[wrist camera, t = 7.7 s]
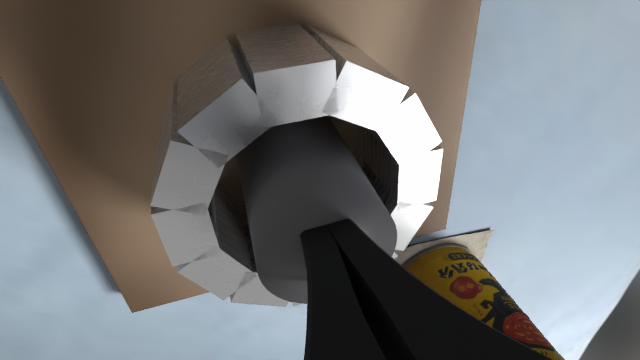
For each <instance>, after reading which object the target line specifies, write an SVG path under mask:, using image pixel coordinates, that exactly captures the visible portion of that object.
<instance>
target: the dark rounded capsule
mask: <svg viewBox="0 0 640 360" xmlns="http://www.w3.org/2000/svg"><path fill="white" fill-rule="evenodd" d="M236 156H237V162H238V168H239V173H240V179H241V184H242V190H243V196H244V201H245V207H246V213H247V218H248V224H249V229H250V235H251V241H252V246H253V252H254V258H255V263H256V269H257V273H258V277H259V279H260V281H261V283H262V284H263V286H264V287H265V288H266V289H267V290H268V291H269V292H270V293H272V294H273V295H275V296H276V297H278V298H281V299H283V300H286V301H290V302H295V303H304V304H308V291H307V269H306V264H305V259H304V254H303V249H302V244H301V239H300V234H301V233H302V232H303V231H304V230H308V229H312V228H315V227H319V226H323V225H326V224H330V223H334V222H337V221H341V220H344V219H348V218H349V219H351V220H352V221H353V222H354V223H355V224H356V225H357V226H358V227H359V228H360V229H361V230H362V231H363V232H364V233H365V234H366V235H368V236H369V237H370V238H371V239H372V240H373V241H374V242H375V243H376V244H377V245H378V246H379V247H381V248H382V249H383V250H384V251H385V252H386V253H387V254H389V255H390V256H391V257H392V255H393V253H394V250H395V247H396V243H397V229H396V225H395V222H394V220H393V218H392V217H391V215H390V214H389V212H388V210H387V209H386V207H385V206H384V204H383V202H382V201H381V199H380V198H379V196H378V194H377V193H376V191H375V190H374V188H373V186H372V185H371V183H370V182H369V180H368V178H367V177H366V175H365V174H364V172H363V170H362V169H361V167H360V166H359V164H358V162H357V161H356V159H355V158H354V156H353V154H352V153H351V151H350V150H349V148H348V146H347V145H346V143H345V142H344V140H343V138H342V137H341V135H340V134H339V132H338V130H337V129H336V127H335V126H334V124H333V122H332V121H331V119H330V118H329V116H323V117H318V118H313V119H307V120H302V121H297V122H292V123H287V124H282V125H277V126H272V127H270V128H269V129H268V130H267V131H265V132H264V133H263V134H262V135H260V136H259V137H258V138H256V139H255V140H254V141H253V142H251V143H250V144H249V145H248V146H246V147H245V148H244V149H242V150H241V151H240V152H239V153H237V154H236ZM326 226H327V225H326Z"/></svg>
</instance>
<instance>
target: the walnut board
mask: <svg viewBox="0 0 640 360" xmlns="http://www.w3.org/2000/svg"><path fill="white" fill-rule="evenodd" d="M480 5H481V0H0V77H1V79H2V80H3V82H4V84H5V86H6V88H7V89H8V91H9V93H10V95H11V97H12V98H13V100H14V102H15V104H16V105H17V107H18V109H19V111H20V113H21V114H22V116H23V118H24V120H25V122H26V123H27V125H28V127H29V129H30V131H31V132H32V134H33V136H34V138H35V140H36V141H37V143H38V145H39V147H40V148H41V150H42V152H43V154H44V156H45V157H46V159H47V161H48V163H49V165H50V166H51V168H52V170H53V172H54V174H55V175H56V177H57V179H58V181H59V183H60V184H61V186H62V188H63V190H64V191H65V193H66V195H67V197H68V199H69V200H70V202H71V204H72V206H73V208H74V209H75V211H76V213H77V215H78V217H79V218H80V220H81V222H82V224H83V226H84V227H85V229H86V231H87V233H88V234H89V236H90V238H91V240H92V242H93V243H94V245H95V247H96V249H97V251H98V252H99V254H100V256H101V258H102V260H103V261H104V263H105V265H106V267H107V269H108V270H109V272H110V274H111V276H112V277H113V279H114V281H115V283H116V285H117V286H118V288H119V290H120V292H121V294H122V295H123V297H124V299H125V301H126V303H127V304H128V306H129V308H130V310H131V312H132V313H133V312H137V311H141V310H144V309H148V308H152V307H156V306H159V305H163V304H167V303H171V302H174V301H178V300H182V299H186V298H189V297H193V296H197V295H200V294H204V293H208V292H209V291H208V290H206V289H204V288H203V287H201V286H199V285H198V284H196V283H194V282H193V281H191V280H189V279H188V278H186V277H184V276H183V275H181V274H179V273H178V265H177V266H173V267H172V265H171V262H170V260H169V257H168V255H167V253H166V250H165V248H164V245H163V243H162V241H161V238H160V236H159V233H158V231H157V229H156V226H155V224H154V221H153V219H152V217H151V206H150V204H151V194H152V184H153V174H154V164H155V154H156V144H157V137H158V134H159V130H160V127H161V123H162V120H163V117H164V113H165V110H166V106H167V103H168V100H169V96H170V93H171V89H172V86H173V85H176V86H178V77H179V76H180V75H181V74H182V73H183V72H185V71H186V70H187V69H188V68H189V67H191V66H192V65H193V64H194V63H195V62H196V61H198V60H199V59H200V58H201V57H202V56H204V55H205V54H206V53H207V52H208V51H210V50H211V49H212V48H213V47H214V46H216V45H217V44H218V43H219V42H220V41H222V40H223V39H224V38H225V37H226V36H227V37H228V39H229V40H230V41H231V42H232V43H233V45H234V46H235V47H236V48H237V49H238V45H237V40H236V34H235V32H242V31H249V30H256V29H263V28H270V27H276V26H283V25H290V24H297V23H298V24H299V25H300V26H301V27H302V28H303V29H305V28H306V25H309V26H311V27H313V28H316V29H318V30H320V31H322V32H325V33H327V34H329V35H331V36H333V37H336V38H338V39H340V40H342V41H344V42H347V43H349V44H351V45H353V46H356V47H358V48H359V49H360V50H362V51H363V52H364V53H366V54H367V55H368V56H369V57H371V58H372V59H373V60H375V61H376V62H377V63H378V64H380V65H381V66H382V67H384V68H385V69H386V70H387V71H389V72H390V73H391V74H393V75H394V76H395V77H396V78H398V79H399V80H400V81H402V82H403V83H404V84H405V85H407V86H408V87H409V89H411V90H412V91H413V92H415V93H416V95H417V97H418V99H419V101H420V102H421V104H422V106H423V108H424V110H425V112H426V113H427V115H428V117H429V119H430V121H431V123H432V124H433V126H434V128H435V130H436V132H437V134H438V135H439V137H440V139H441V141H442V142H440V143H439V144H438V145H439V146H440V147H441V148H442V149H443V153H442V160H441V168H440V176H439V183H438V191H437V199H436V200H435V201H431V202H430V204H431V205H432V206H433V209H432V210H431V212H430V213H429V214H428V216H427V217H426V219H425V220H424V222H423V223H422V225H421V226H420V228H419V229H418V231H417V232H416V233H415V235H414V236H413V237H417V236H421V235H424V234H428V233H432V232H436V231H439V230H443V229H446V224H447V217H448V211H449V204H450V198H451V191H452V185H453V179H454V172H455V166H456V159H457V153H458V147H459V140H460V134H461V127H462V121H463V114H464V108H465V102H466V95H467V89H468V82H469V76H470V70H471V63H472V57H473V50H474V44H475V38H476V31H477V25H478V18H479V12H480ZM238 51H239V50H238ZM328 116H329V118H330V119H331V121H332V122H333V124H334V126H335V127H336V129H337V130H338V132H339V134H340V135H341V137H342V138H343V140H344V142H345V143H346V145H347V146H348V148H349V150H350V151H351V153H352V154H353V153H354V151H355V149H356V130H355V124H354V123H351V122H348V121H345V120H342V119H339V118H336V117H333V116H330V115H328ZM218 185H219V186H220V187H221V188H223V189H224V190H225V191H226V192H227V193H228V194H230V195H231V196H232V197H233V198H234V199H236V200H237V201H238V202H240V203H245V201H244V196H243V190H242V184H241V179H240V173H239V168H238V162H237V156H236V155H235V156H233V157H232V158H231V159H230V160H228V161H227V162H226V163H225V165H224V168H223V171H222V173H221V176H220V178H219V181H218Z"/></svg>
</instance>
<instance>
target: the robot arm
mask: <svg viewBox="0 0 640 360" xmlns="http://www.w3.org/2000/svg"><path fill="white" fill-rule="evenodd" d="M326 225H327V226H326ZM326 225H323V226H319V227H315V228H312V229H308V230H304V231H303V232H302V233H301V234H300V239H301V244H302V249H303V254H304V259H305V264H306V269H307V291H308V305H307V330H306V344H305V354H304V360H553V359H551V358H549V357H547V356H545V355H543V354H541V353H539V352H537V351H535V350H533V349H531V348H529V347H527V346H526V345H524V344H522V343H520V342H518V341H516V340H514V339H512V338H510V337H509V336H507V335H505V334H503V333H501V332H499V331H497V330H496V329H494V328H492V327H490V326H489V325H487V324H485V323H484V322H482V321H480V320H479V319H477V318H475V317H474V316H472V315H470V314H469V313H467V312H466V311H464V310H463V309H461V308H459V307H458V306H456V305H455V304H453V303H452V302H450V301H449V300H447V299H446V298H444V297H443V296H442V295H440V294H439V293H437V292H436V291H434V290H433V289H432V288H430V287H429V286H428V285H426V284H425V283H424V282H422V281H421V280H419V279H418V278H417V277H416V276H414V275H413V274H412V273H410V272H409V271H408V270H407V269H405V268H404V267H403V266H402V265H401V264H399V263H398V262H397V261H396V260H395V259H393V258H392V257H391V256H390V255H389V254H387V253H386V252H385V251H384V250H383V249H382V248H381V247H379V246H378V245H377V244H376V243H375V242H374V241H373V240H372V239H371V238H370V237H369V236H368V235H366V234H365V233H364V232H363V231H362V230H361V229H360V228H359V227H358V226H357V225H356V224H355V223H354V222H353V221H352V220H351V219H349V218H348V219H344V220H341V221H337V222H334V223H330V224H326Z"/></svg>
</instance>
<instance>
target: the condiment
mask: <svg viewBox="0 0 640 360" xmlns="http://www.w3.org/2000/svg"><path fill="white" fill-rule="evenodd" d="M493 231H494V230H487V231H483V232H479V233H472V234H465V235H459V236H455V237H449V238H443V239H439V240H435V241H430V242H425V243H421V244H416V245H414V246H409V247H408V248H405V250H404V251H401V250H394V251H395V252H396V254H397V255H398V257H396V258H395V260H396V261H397V262H398V263H399V264H401V265H402V266H403V267H404V268H405V269H407V270H408V271H409V272H410V273H412V274H413V275H414V276H416V277H417V278H418V279H419V280H421V281H422V282H424V283H425V284H426V285H428V286H429V287H430V288H432V289H433V290H434V291H436V292H437V293H439V294H440V295H442V296H443V297H444V298H446V299H447V300H449V301H450V302H452V303H453V304H455V305H456V306H458V307H459V308H461V309H463V310H464V311H466V312H467V313H469V314H470V315H472V316H474V317H475V318H477V319H479V320H480V321H482V322H484V323H485V324H487V325H489V326H490V327H492V328H494V329H496V330H497V331H499V332H501V333H503V334H505V335H507V336H509V337H510V338H512V339H514V340H516V341H518V342H520V343H522V344H524V345H526V346H527V347H529V348H531V349H533V350H535V351H537V352H539V353H541V354H543V355H545V356H547V357H549V358H551V359H553V360H564V358H563V357H562V356H561V355H560V354H559V353H558V352H557V351H556V350H555V349H554V347H553V346H552V345H551V344H550V343H549V341H548V340H547V339H546V338H545V337H544V336H543V334H542V333H541V332H540V331H539V329H538V328H537V327H536V326H535V325H534V324H533V323H532V321H531V320H530V318H529V317H528V316H527V315H526V314H525V313H524V312H523V311H522V310H521V309H520V308H519V306H518V305H517V304H516V303H515V301H514V300H513V299H512V298H511V296H510V295H508V294H507V293H506V291H505V290H504V289H503V288H502V286H501V285H500V284H499V283H498V281H497V280H496V279H495V278H494V277H493V276H492V275H491V273H490V272H488V270H487V269H486V268H485V267H484V265H483V264H482V263H481V260H482V258H483V254H484V251H485V248H486V247H487V243H488V240H489V237H490V235H491V233H492V232H493Z"/></svg>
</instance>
